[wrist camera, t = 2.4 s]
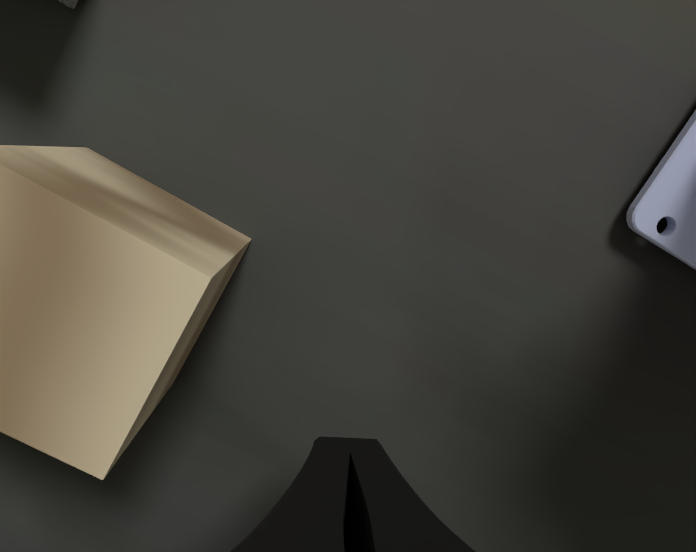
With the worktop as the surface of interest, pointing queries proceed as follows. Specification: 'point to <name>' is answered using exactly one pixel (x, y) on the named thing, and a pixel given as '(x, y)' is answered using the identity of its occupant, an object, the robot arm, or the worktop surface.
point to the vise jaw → (69, 3)
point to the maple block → (97, 299)
